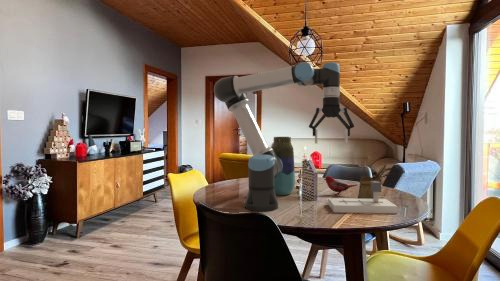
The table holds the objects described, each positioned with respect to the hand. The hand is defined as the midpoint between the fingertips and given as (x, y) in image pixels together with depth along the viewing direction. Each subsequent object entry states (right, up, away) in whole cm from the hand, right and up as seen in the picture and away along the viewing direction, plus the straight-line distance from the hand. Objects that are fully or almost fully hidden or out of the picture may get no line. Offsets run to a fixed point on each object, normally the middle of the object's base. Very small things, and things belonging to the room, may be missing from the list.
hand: (331, 143), depth 147 cm
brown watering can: (+23, -29, +11) cm, 38 cm away
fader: (+18, -26, -7) cm, 32 cm away
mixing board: (+12, -29, -6) cm, 32 cm away
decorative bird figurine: (+11, -28, +23) cm, 38 cm away
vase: (-20, -28, +28) cm, 44 cm away
